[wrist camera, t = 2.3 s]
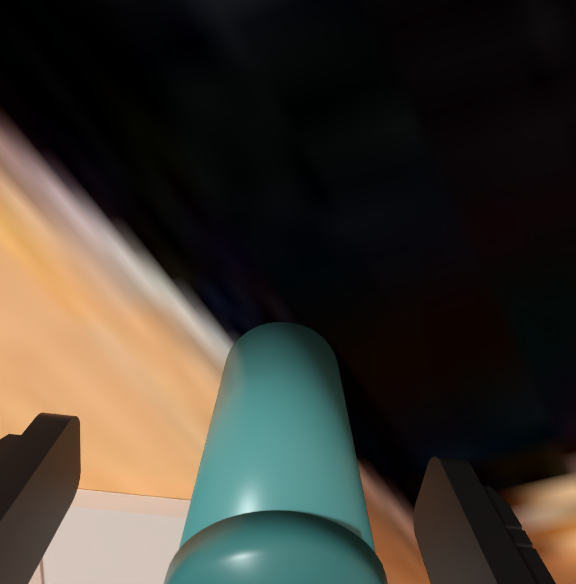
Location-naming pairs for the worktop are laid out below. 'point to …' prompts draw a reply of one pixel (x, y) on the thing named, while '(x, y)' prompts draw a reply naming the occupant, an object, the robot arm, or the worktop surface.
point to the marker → (278, 473)
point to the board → (114, 540)
